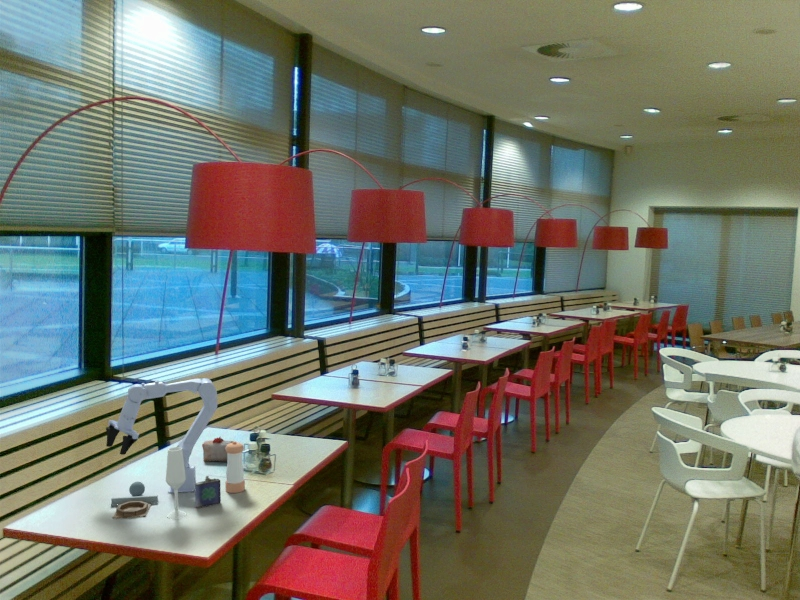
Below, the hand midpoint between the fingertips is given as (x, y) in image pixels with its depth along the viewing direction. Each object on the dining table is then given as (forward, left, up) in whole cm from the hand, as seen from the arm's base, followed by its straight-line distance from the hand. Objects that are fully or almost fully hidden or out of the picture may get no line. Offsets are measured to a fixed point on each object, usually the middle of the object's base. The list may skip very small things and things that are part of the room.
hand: (115, 450), depth 266 cm
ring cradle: (-8, +16, -18) cm, 25 cm away
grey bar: (-8, +8, -18) cm, 21 cm away
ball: (-7, +1, -15) cm, 17 cm away
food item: (-34, -38, -18) cm, 54 cm away
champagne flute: (-24, +22, -18) cm, 37 cm away
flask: (-34, +14, -18) cm, 41 cm away
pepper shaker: (-43, 0, -18) cm, 47 cm away
